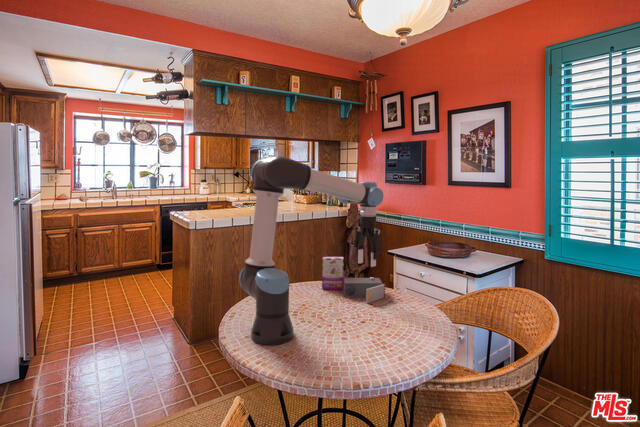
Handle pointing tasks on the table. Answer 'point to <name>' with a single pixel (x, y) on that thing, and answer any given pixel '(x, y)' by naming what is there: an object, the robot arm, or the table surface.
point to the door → (375, 293)
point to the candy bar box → (332, 273)
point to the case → (359, 286)
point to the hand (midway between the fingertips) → (366, 264)
